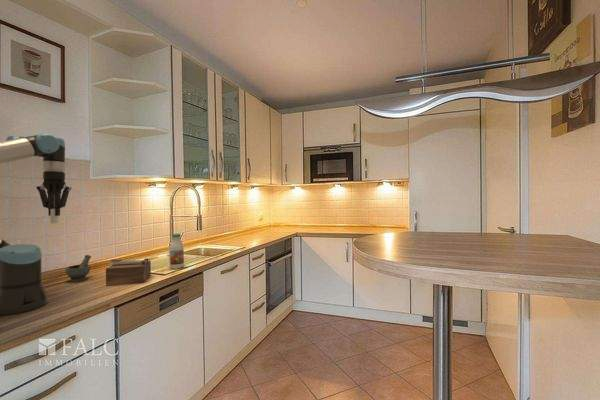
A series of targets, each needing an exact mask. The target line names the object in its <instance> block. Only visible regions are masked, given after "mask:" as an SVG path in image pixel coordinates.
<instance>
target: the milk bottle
mask: <svg viewBox="0 0 600 400" xmlns="http://www.w3.org/2000/svg"><path fill="white" fill-rule="evenodd" d="M171 238H172V240H171V243H170V246H169V255H168V259H169V269H170V270H178V269H177V268H180V269H182V268H181V267H183V268H184V267H185V260H184V259H185V256H184V254H185V251H184V250H185V249H184V245H183V242H182V241H181V238H182V237H181V233H172V235H171Z"/></svg>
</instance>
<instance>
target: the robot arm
mask: <svg viewBox="0 0 600 400" xmlns="http://www.w3.org/2000/svg"><path fill="white" fill-rule="evenodd" d="M65 156H66V143H65V140H64V138H62V137H58V136H54V135H53V134H49V133H39V134H36V135H29V136H20V135H9V136H7V137H6V140H4V141H0V165H3V164H4V165H5V164H7V163H12V162H16V161H19V160H23V159H28V158H32V157H39V158H42V166H43V167H42V169H43V172H42V178H43V179H42V180H43V181H42V184H40V185H39V186H36V190H37V191H38V193H39V196H40V200H41V203H42V207H43V208H46V209H48V211H47V213H48V215H47V216H48V217H50V224H59V216H60V215H61V209H62V208H65V207H66V205H67V201H68V197H69V194H70V191H71V190H72V186H68V185H67V183H66V181H65V180H66V173H65V171H66V157H65ZM48 299H49V298H48V295H47V292H46V290H45V288H44V286H43V284H42V251H41V247H40V246H38V245H36V244H32V243H31V244H28V243H27V244H25V243H20V244H17V243H16V244H10V243H8V242H7V241H6V240H5V239H3V238H1V237H0V316H4V315H5V316H6V315H8V316H9V315H15V314H21V313H25V312H28V311H29V312H30V311H33V310H36V309H38V308H41V307H43V306H45V305H46V304H48V302H49V301H48Z"/></svg>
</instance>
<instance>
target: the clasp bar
mask: <svg viewBox="0 0 600 400" xmlns="http://www.w3.org/2000/svg"><path fill="white" fill-rule="evenodd" d="M141 261H145V262H147V260H144V259H141V260H140V259H139V260H138V259H110V260H108V261H107V264H115V263H136V264H141Z"/></svg>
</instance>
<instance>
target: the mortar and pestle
mask: <svg viewBox="0 0 600 400" xmlns="http://www.w3.org/2000/svg"><path fill="white" fill-rule="evenodd" d="M91 258H92V256H91V255H90V254H86V255H84V258H83V260H82V262H81V263H80V264H75V265H70V266H67V267H65V274H66V276H67V277H69V278H70V282H71V283H76V282H78V281H79V282H83V281H86V280H87V277H86V276H87V275H88V274H89V272H90V270H91V265H90V264H89V262H90V259H91Z"/></svg>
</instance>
